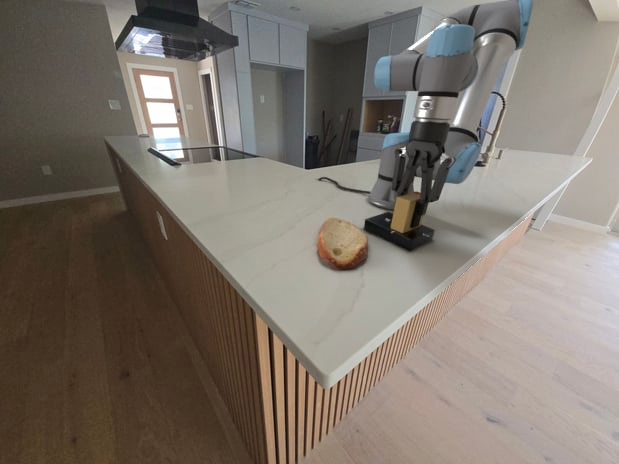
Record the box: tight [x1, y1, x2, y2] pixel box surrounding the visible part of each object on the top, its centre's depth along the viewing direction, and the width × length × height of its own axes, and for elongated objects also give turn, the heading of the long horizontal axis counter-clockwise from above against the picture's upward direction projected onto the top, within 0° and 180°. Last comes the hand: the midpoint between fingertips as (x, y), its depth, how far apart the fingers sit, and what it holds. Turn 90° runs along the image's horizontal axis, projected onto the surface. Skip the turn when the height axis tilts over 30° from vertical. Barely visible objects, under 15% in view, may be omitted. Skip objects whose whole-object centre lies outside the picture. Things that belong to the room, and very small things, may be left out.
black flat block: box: [363, 211, 436, 252], centre depth 65 cm, size 15×12×3 cm
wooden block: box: [391, 190, 425, 233], centre depth 62 cm, size 8×4×8 cm, turn 128°
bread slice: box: [316, 217, 369, 270], centre depth 60 cm, size 18×18×4 cm
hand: (406, 223), depth 63 cm, fingers closed on wooden block, 4 cm apart
